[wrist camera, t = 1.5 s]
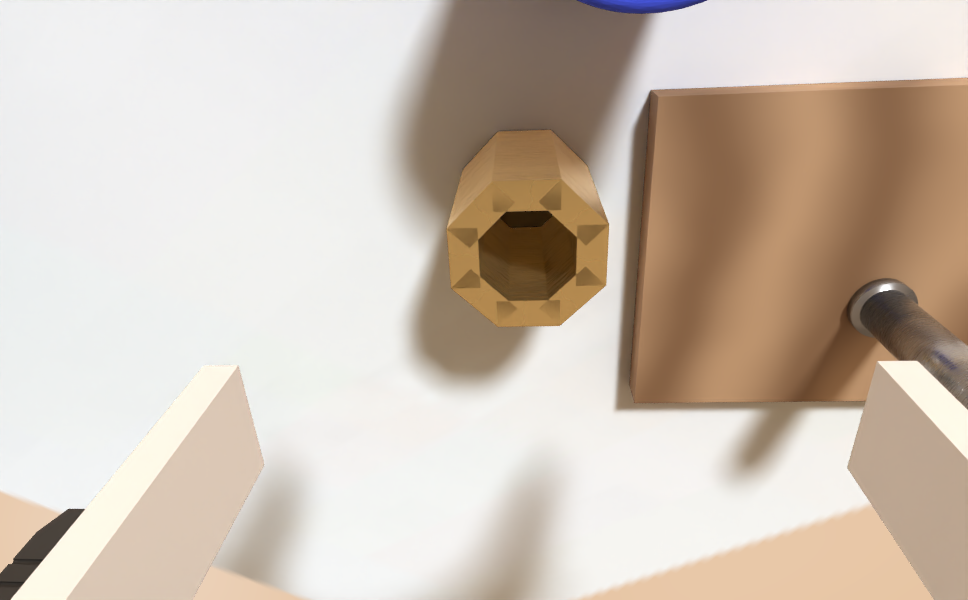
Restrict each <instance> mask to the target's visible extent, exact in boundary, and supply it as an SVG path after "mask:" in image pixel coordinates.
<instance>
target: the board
mask: <svg viewBox="0 0 968 600" xmlns="http://www.w3.org/2000/svg"><path fill="white" fill-rule="evenodd" d="M882 278H892V279H896V280H899V281H901V282H903V283H904V284H905V285H907V286H908V287H909V288H910V289H912V290H913V291H914V293H915V294H916V296H917V299H918V305H919V306H920V307H921V308H922V309H924V310H925V311H926V312H927V313H928V314H930V315H931V316H932V317H933V318H934V319H936V320H937V321H938V322H939V323H941V324H942V325H943V326H944V327H945V328H947V329H948V330H949V331H950V332H951V333H953V334H954V335H955V336H956V337H957V338H959V339H960V340H961V341H962V342H964V343H965V344H966V345H967V346H968V78H949V79H924V80H898V81H872V82H846V83H820V84H794V85H769V86H743V87H717V88H691V89H665V90H651V96H650V110H649V123H648V137H647V151H646V164H645V178H644V192H643V205H642V219H641V233H640V246H639V260H638V274H637V287H636V301H635V315H634V328H633V342H632V356H631V370H630V383H629V385H630V389H631V392H632V396H633V400H634V403H682V402H797V401H866V399H867V395H868V392H869V388H870V385H871V381H872V378H873V374H874V371H875V367H876V363H877V361H897V359H896V358H895V357H894V356H893V355H892V354H891V353H890V352H889V351H888V350H887V349H886V348H885V347H884V346H883V345H882V344H881V343H880V342H879V341H878V340H877V339H876V338H872V337H868V336H865V335H863V334H861V333H860V332H858V331H857V330H856V329H855V328H854V327H853V325H852V324H851V323H850V322H849V320H848V317H847V306H848V303H849V301H850V299H851V297H852V296H853V294H854V293H855V292H856V291H857V290H858V289H859V288H861V287H862V286H863V285H865V284H867V283H869V282H871V281H874V280H877V279H882Z"/></svg>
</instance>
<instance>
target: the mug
mask: <svg viewBox="0 0 968 600" xmlns="http://www.w3.org/2000/svg"><path fill="white" fill-rule="evenodd" d="M577 1H580V2H582V3H585V4H587V5H590V6H594V7H597V8H600V9H605V10H609V11H615V12H621V13H635V14H646V13H660V12H667V11H673V10H678V9H682V8H686V7H689V6H692V5H695V4H698V3H702V2H704V1H707V0H577Z"/></svg>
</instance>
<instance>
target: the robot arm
mask: <svg viewBox="0 0 968 600" xmlns="http://www.w3.org/2000/svg"><path fill="white" fill-rule="evenodd" d="M263 467H264V461H263V457H262V453H261V450H260V446H259V442H258V438H257V434H256V431H255V427H254V423H253V419H252V415H251V412H250V408H249V404H248V400H247V396H246V393H245V389H244V385H243V381H242V377H241V373H240V370H239V366H238V365H218V366H203V367H202V368H201V370H200V371H199V372H198V373H197V374H196V376H195V377H194V378H193V379H192V381H191V382H190V383H189V384H188V385H187V387H186V388H185V389H184V390H183V391H182V393H181V394H180V395H179V396H178V397H177V399H176V400H175V401H174V402H173V404H172V405H171V406H170V407H169V408H168V410H167V411H166V412H165V413H164V414H163V416H162V417H161V418H160V419H159V420H158V422H157V423H156V424H155V425H154V427H153V428H152V429H151V430H150V431H149V433H148V434H147V435H146V436H145V437H144V439H143V440H142V441H141V442H140V444H139V445H138V446H137V447H136V448H135V450H134V451H133V452H132V453H131V454H130V456H129V457H128V458H127V459H126V460H125V462H124V463H123V464H122V465H121V467H120V468H119V469H118V470H117V471H116V473H115V474H114V475H113V476H112V477H111V479H110V480H109V481H108V482H107V484H106V485H105V486H104V487H103V488H102V490H101V491H100V492H99V493H98V494H97V496H96V497H95V498H94V499H93V500H92V502H91V503H90V504H89V505H88V507H87V508H86V509H68V510H66V511H65V512H64V513H62V514H61V515H59V516H58V517H57V518H56V519H54V520H53V521H51V522H50V523H48V524H47V525H46V526H44V527H43V528H42V529H40V530H39V531H38V532H36V534H35V535H34V536H33V537H32V538H31V539H30V540H29V542H28V543H27V544H26V545H25V546H24V547H23V548H22V549H21V551H20V552H19V553H18V554H17V555H16V556H15V558H14V559H13V560H14V561H13V563H12V564H8V565H7V567H6V568H5V569H4V570H3V571H2V572H1V573H0V600H193V598H194V596H195V594H196V592H197V590H198V588H199V587H200V585H201V582H202V581H203V579H204V577H205V575H206V573H207V571H208V570H209V568H210V566H211V564H212V562H213V560H214V558H215V557H216V555H217V553H218V551H219V549H220V547H221V545H222V543H223V542H224V540H225V538H226V536H227V534H228V532H229V530H230V528H231V527H232V525H233V523H234V521H235V519H236V517H237V515H238V513H239V512H240V510H241V508H242V506H243V504H244V502H245V500H246V498H247V497H248V495H249V493H250V491H251V489H252V487H253V485H254V483H255V482H256V480H257V478H258V476H259V474H260V472H261V470H262V468H263ZM847 468H848V470H849V471H850V473H851V474H852V476H853V477H854V479H855V480H856V482H857V483H858V485H859V486H860V488H861V489H862V491H863V492H864V494H865V495H866V497H867V498H868V500H869V501H870V503H871V505H872V506H873V508H874V509H875V511H876V512H877V513H878V515H879V517H880V518H881V520H882V521H883V523H884V524H885V526H886V527H887V529H888V530H889V532H890V533H891V535H892V536H893V538H894V540H895V541H896V542H897V544H898V546H899V547H900V549H901V550H902V552H903V553H904V555H905V556H906V558H907V559H908V561H909V562H910V564H911V565H912V567H913V568H914V570H915V571H916V573H917V574H918V576H919V577H920V579H921V581H922V582H923V584H924V585H925V587H926V588H927V590H928V591H929V593H930V594H931V596H932V597H933V599H934V600H968V410H967V409H966V408H965V407H964V406H963V405H962V404H961V403H960V402H959V401H958V400H957V399H956V398H955V397H954V396H953V395H952V394H951V393H950V392H949V391H948V390H947V389H946V388H945V387H944V386H943V385H942V384H941V383H940V382H939V381H938V380H937V379H935V378H934V377H933V376H932V375H931V374H930V373H929V372H928V371H927V370H926V369H925V368H924V367H923V366H922V365H921V364H920V363H919V362H918V361H877V363H876V367H875V371H874V374H873V378H872V381H871V385H870V388H869V392H868V395H867V399H866V403H865V406H864V410H863V413H862V417H861V420H860V424H859V427H858V431H857V435H856V438H855V442H854V445H853V449H852V452H851V456H850V460H849V463H848V467H847Z"/></svg>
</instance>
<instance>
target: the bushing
mask: <svg viewBox="0 0 968 600" xmlns="http://www.w3.org/2000/svg"><path fill="white" fill-rule="evenodd" d="M512 211H549V212H550V213H551V214H552V215H553V216H552V217H551V218H550V219H549V220H547V221H546V222H545V223H544V224H543V225H542V226H541V227H521V228H510V227H509V226H508V225H507V224H506V223H505V222H503V221H502V220H501V219H500V217H501V216H502V215H503V214H504V213H505V212H512ZM608 236H609V223H608V220H607V218H606V215H605V212H604V209H603V207H602V204H601V201H600V199H599V196H598V193H597V190H596V188H595V185H594V182H593V180H592V177H591V174H590V172H589V169H588V166H587V165H586V164H585V163H584V162H583V161H582V160H581V159H580V158H579V157H578V156H577V155H576V154H575V153H574V152H573V151H572V150H571V149H570V148H569V147H568V146H567V145H566V144H565V143H564V142H563V141H562V140H561V139H560V138H559V137H558V136H557V135H556V134H555V133H554V132H553V131H551V130H526V131H498V132H497V133H496V134H495V135H494V136H493V137H492V138H491V139H490V140H489V141H488V143H487V144H486V145H485V146H484V147H483V148H482V149H481V150H480V151H479V152H478V153H477V154H476V156H475V157H474V158H473V159H472V160H471V161H470V162H469V163H468V164H467V165H466V166H465V167H464V169H463V171H462V174H461V178H460V181H459V185H458V189H457V192H456V196H455V200H454V203H453V207H452V210H451V214H450V218H449V221H448V225H447V242H448V255H449V268H450V281H451V289H452V290H454V291H455V292H456V293H457V294H458V295H460V296H461V297H462V298H463V299H464V300H466V301H467V302H468V303H469V304H471V305H472V306H473V307H474V308H475V309H477V310H478V311H479V312H480V313H481V314H483V315H484V316H485V317H486V318H488V319H489V320H490V321H491V322H492V323H494V324H495V325H496V326H497V327H517V326H560V325H561V324H562V323H564V322H565V321H566V320H567V319H568V318H569V317H570V316H572V315H573V314H574V313H575V312H576V311H577V310H578V309H580V308H581V307H582V306H583V305H584V304H585V303H586V302H588V301H589V300H590V299H591V298H592V297H593V296H594V295H596V294H597V293H598V292H599V291H600V290H601V289H602V288H604V287H605V286H606V277H607V256H608Z"/></svg>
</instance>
